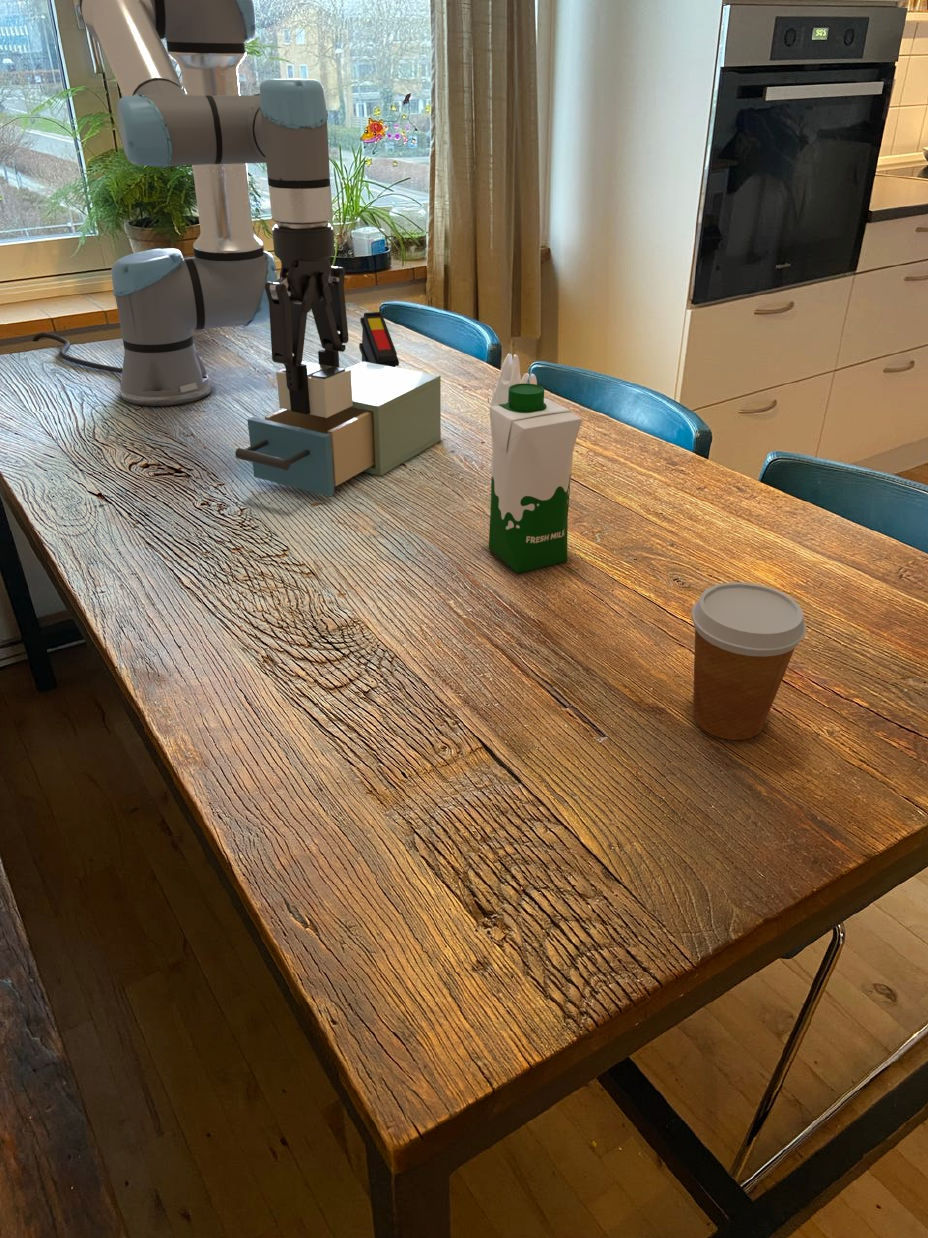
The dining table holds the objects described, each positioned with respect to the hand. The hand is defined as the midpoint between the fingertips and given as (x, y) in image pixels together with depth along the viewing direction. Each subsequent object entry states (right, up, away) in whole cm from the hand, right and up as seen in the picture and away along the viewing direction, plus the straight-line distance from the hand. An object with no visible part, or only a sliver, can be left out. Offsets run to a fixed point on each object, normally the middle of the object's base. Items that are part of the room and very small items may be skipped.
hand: (316, 404), depth 125 cm
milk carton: (+28, -22, -14) cm, 38 cm away
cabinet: (+6, -3, +15) cm, 17 cm away
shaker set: (+29, +2, +25) cm, 38 cm away
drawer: (-1, -9, +4) cm, 10 cm away
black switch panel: (+6, +7, +32) cm, 34 cm away
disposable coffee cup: (+45, -39, -41) cm, 72 cm away
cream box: (0, 0, 0) cm, 0 cm away
